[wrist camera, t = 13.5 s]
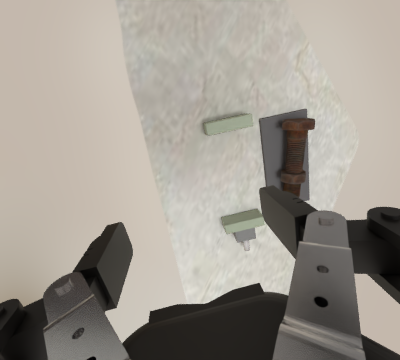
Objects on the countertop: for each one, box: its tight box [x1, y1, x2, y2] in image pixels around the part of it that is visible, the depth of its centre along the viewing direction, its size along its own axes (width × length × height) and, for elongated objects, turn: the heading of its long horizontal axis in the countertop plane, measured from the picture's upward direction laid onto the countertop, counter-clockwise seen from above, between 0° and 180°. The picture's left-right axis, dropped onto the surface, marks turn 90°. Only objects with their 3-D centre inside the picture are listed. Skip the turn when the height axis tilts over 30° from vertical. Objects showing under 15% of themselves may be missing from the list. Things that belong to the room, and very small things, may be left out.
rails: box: [203, 114, 265, 251], centre depth 40 cm, size 28×8×4 cm, turn 12°
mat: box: [259, 109, 309, 201], centre depth 41 cm, size 19×9×1 cm, turn 12°
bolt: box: [280, 118, 315, 197], centre depth 38 cm, size 6×5×15 cm
